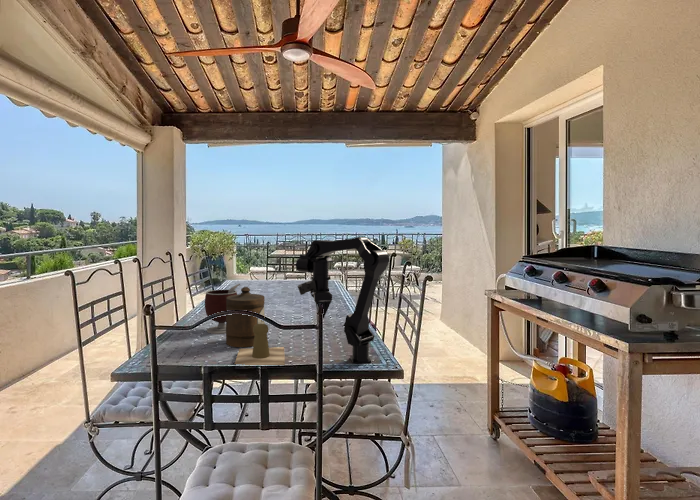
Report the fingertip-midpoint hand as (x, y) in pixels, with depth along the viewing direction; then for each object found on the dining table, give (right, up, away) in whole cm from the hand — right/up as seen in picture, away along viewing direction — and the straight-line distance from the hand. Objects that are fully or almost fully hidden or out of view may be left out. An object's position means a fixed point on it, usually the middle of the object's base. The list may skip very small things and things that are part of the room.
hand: (320, 315), depth 155 cm
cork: (-20, -12, -11) cm, 26 cm away
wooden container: (-30, -12, +10) cm, 34 cm away
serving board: (-20, -13, -11) cm, 26 cm away
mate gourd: (-45, -11, +28) cm, 54 cm away
